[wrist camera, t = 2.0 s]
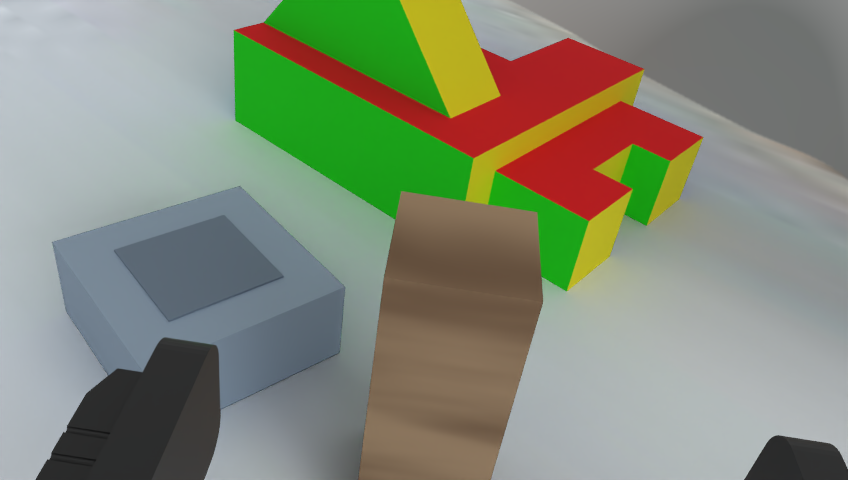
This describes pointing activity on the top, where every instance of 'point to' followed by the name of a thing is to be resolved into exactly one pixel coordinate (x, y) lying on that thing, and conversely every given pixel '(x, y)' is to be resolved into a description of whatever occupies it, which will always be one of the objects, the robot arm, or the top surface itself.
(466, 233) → the pillar
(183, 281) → the plinth
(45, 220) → the top surface
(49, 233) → the top surface
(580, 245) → the building blocks toy
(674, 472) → the top surface
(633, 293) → the top surface
